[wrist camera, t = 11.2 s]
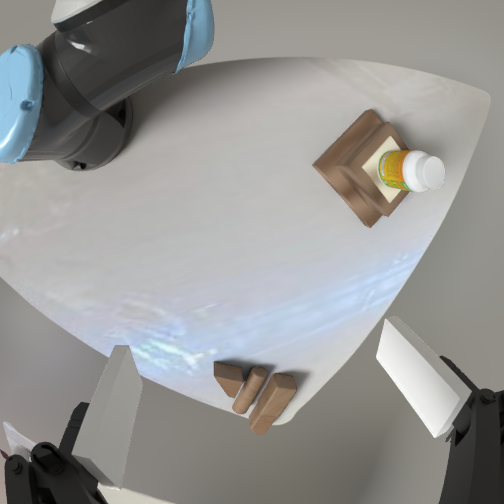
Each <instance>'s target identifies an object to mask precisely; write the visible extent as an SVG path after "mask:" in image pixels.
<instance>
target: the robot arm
mask: <svg viewBox="0 0 504 504" xmlns="http://www.w3.org/2000/svg"><path fill="white" fill-rule="evenodd" d="M51 21H52V23H53V24H54V25H55V27H56V28H57V29H58V30H56V31H55V32H54V33H52V34H51V35H50V36H49V37H47V38H46V39H45V40H44V41H42V42H41V43H40V44H39V45H38V46H36V47H34V46H33V45H31V44H21V45H19V46H13V47H11V48H9V49H8V50H6V51H5V52H4V53H3V54H2V55H1V56H0V162H5V163H7V164H13V163H15V162H22V161H41V160H54V161H56V162H57V163H58V164H60V165H61V166H63V167H65V168H67V169H69V170H73V171H89V170H94V169H97V168H99V167H102V166H103V165H105V164H107V163H108V162H110V161H111V160H112V159H113V158H114V157H115V156H116V155H117V154H118V153H119V152H120V150H121V149H122V147H123V146H124V144H125V142H126V140H127V138H128V136H129V133H130V130H131V126H132V118H133V113H132V106H131V102H130V99H129V97H128V96H129V95H131V94H133V93H135V92H136V91H138V90H140V89H142V88H143V87H145V86H147V85H149V84H151V83H153V82H155V81H157V80H158V79H160V78H162V77H164V76H166V75H168V74H171V75H173V74H176V73H177V72H178V71H180V70H181V68H183V67H185V66H187V65H190V64H192V63H194V62H196V61H198V60H200V59H202V58H203V57H204V56H205V55H206V54H207V53H208V51H209V50H210V49H211V47H212V44H213V40H214V17H213V11H212V5H211V1H210V0H56V4H55V7H54V10H53V14H52V17H51ZM376 358H377V359H378V361H379V362H380V363H381V365H382V366H383V368H384V369H385V370H386V371H387V373H388V374H389V376H390V377H391V378H392V379H393V381H394V382H395V384H396V385H397V386H398V388H399V389H400V390H401V392H402V393H403V395H404V396H405V397H406V399H407V400H408V401H409V403H410V404H411V405H412V407H413V408H414V410H415V411H416V413H417V414H418V415H419V417H420V418H421V419H422V421H423V422H424V424H425V425H426V427H427V428H428V429H429V431H430V432H431V434H432V435H433V437H434V438H436V437H438V436H440V435H441V434H443V433H445V432H446V431H447V430H448V428H449V427H450V426H451V424H453V426H454V429H453V430H452V431H451V433H450V434H449V436H448V437H447V438H446V442H447V441H448V440H449V439H450V438H451V441H450V442H451V446H450V453H449V459H448V465H447V470H446V476H445V480H444V485H443V489H442V493H441V497H440V501H439V504H504V390H503V391H500V392H495V393H494V392H493V391H492V390H490V389H481V390H479V389H478V388H477V387H476V386H475V385H474V384H473V383H472V382H471V381H470V380H469V379H468V377H467V376H466V375H465V374H464V373H463V372H461V370H460V369H459V368H458V367H456V365H455V364H454V363H453V362H452V361H451V360H449V359H447V358H446V357H444V356H440V357H438V356H437V355H436V354H435V353H434V352H433V351H432V350H431V349H430V348H429V347H428V346H427V345H426V344H425V343H424V342H423V341H422V340H421V339H420V338H419V337H418V336H417V335H416V334H415V333H414V332H413V331H412V330H411V329H410V328H409V327H408V326H407V325H406V324H405V323H404V322H403V321H402V320H401V319H400V318H398V317H397V316H393V317H389V318H386V319H385V322H384V327H383V331H382V336H381V340H380V344H379V348H378V352H377V355H376ZM142 388H143V383H142V381H141V378H140V376H139V373H138V370H137V368H136V365H135V362H134V359H133V356H132V353H131V350H130V347H129V345H115V347H114V349H113V351H112V353H111V355H110V357H109V360H108V362H107V364H106V366H105V369H104V371H103V373H102V375H101V378H100V380H99V383H98V385H97V387H96V390H95V393H94V394H93V397H92V399H91V402H90V403H84V402H81V403H80V404H79V405H78V406H77V407H76V408H75V409H74V411H73V413H72V415H71V418H70V419H71V420H69V423H68V425H67V426H68V427H67V428H66V430H65V433H64V435H63V438H62V441H61V443H60V446H59V448H58V449H57V447H56V446H55V445H53V444H51V443H49V442H42V443H39V444H37V445H35V447H34V448H33V449H32V451H31V455H30V456H31V461H32V462H28V461H27V460H26V459H25V458H24V457H22V456H21V455H17V454H14V455H11V456H10V457H8V458H7V460H6V462H5V485H6V496H7V504H108V503H107V501H106V500H105V498H104V497H103V495H102V494H101V492H100V491H99V489H98V488H97V486H98V482H99V483H100V484H102V485H103V486H104V487H106V488H111V489H116V490H121V489H122V482H123V476H124V471H125V465H126V460H127V454H128V449H129V444H130V440H131V435H132V430H133V426H134V421H135V417H136V412H137V408H138V404H139V399H140V396H141V392H142ZM451 436H452V437H451Z"/></svg>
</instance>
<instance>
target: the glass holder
mask: <svg viewBox="0 0 504 504" xmlns="http://www.w3.org/2000/svg"><path fill="white" fill-rule="evenodd" d="M14 454H17V455H21V456H22V457H24V458H25V459H26V460H27V461H28V462H29V457H30V455H31V453H30V452H29V451H28V450H27V449H26V448H24V447H23V446H21V445H20V444H18V443H15V446H14V449H13V451H12V453H11V455H14ZM11 455H10V456H11Z"/></svg>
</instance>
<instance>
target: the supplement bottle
mask: <svg viewBox="0 0 504 504" xmlns="http://www.w3.org/2000/svg"><path fill="white" fill-rule="evenodd" d="M377 173H378V176H379V179H380V180H381V182H382V183H383V184H384V185H386V186H388V187H391V188H396V189H401V190H406V191H411V192H416V193H424V192H426V191H428V190H429V189H431V190H437V189H439V188H440V187H441V186H442V185H443V183H444V180H445V168H444V165H443V163H442V161H441V160H440V159H439V158H438V157H435V156H429V155H428V154H427V153H425V152H423V151H419V150H396V151H387V152H385V153H383V154H382V155H381V156H380V158H379V160H378V163H377Z"/></svg>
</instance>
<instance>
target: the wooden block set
mask: <svg viewBox="0 0 504 504" xmlns="http://www.w3.org/2000/svg"><path fill="white" fill-rule="evenodd" d="M214 377H215V378H216V380H217V381H218V383H219V384H220V386H221V387H222V388H223V390H224V391H225V393H226V394H227V395H228V396H229V397H232V398H235V397H236V395H237V393H238V391H239V389H240V387H241V385H242V383H243V378H242V371H241V367H236V366H232V365H227V364H223V363H219V362H214ZM266 377H267V372H266V370H265V369H263V368H261V367H253V368H252V370H251V371H250V373H249V375H248V377H247V379H246V381H245V383H244V385H243V387H242V389H241V391H240V393H239V395H238V397H237V398H236V400H235V402H234V404H233V406H232V408H233V411H234V412H236V413H238V414H244V413H246V412H247V410H248V408H249V407H250V405H251V403H252V402H253V400H254V398H255V396H256V395H257V393H258V391H259V390H260V388H261V386H262V384H263V382H264V381H265V379H266ZM296 391H297V387H296V384H295V381H294V378H293V376H289V375H283V374H277V373H274V374H273V375H272V377H271V378H270V380H269V382H268V384H267V385H266V387H265V389H264V391H263V392H262V394H261V396H260V397H259V399H258V403H257V404H256V406H255V408H254V409H253V411H252V413H251V414H250V416H249V422H250V428H251V430H252V431H253V432H254V433H255V434H257V435H264V434H265V433H266V432H267V430H268V429H269V427H270V426H271V425H272V423H273V422H274V421H275V419H276V418H277V417H278V416H280V415H281V413H282V412H283V410H284V409H285V407H286V406H287V405H288V403H289V402H290V400H291V399H292V397H293V396H294V394H295V393H296Z"/></svg>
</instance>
